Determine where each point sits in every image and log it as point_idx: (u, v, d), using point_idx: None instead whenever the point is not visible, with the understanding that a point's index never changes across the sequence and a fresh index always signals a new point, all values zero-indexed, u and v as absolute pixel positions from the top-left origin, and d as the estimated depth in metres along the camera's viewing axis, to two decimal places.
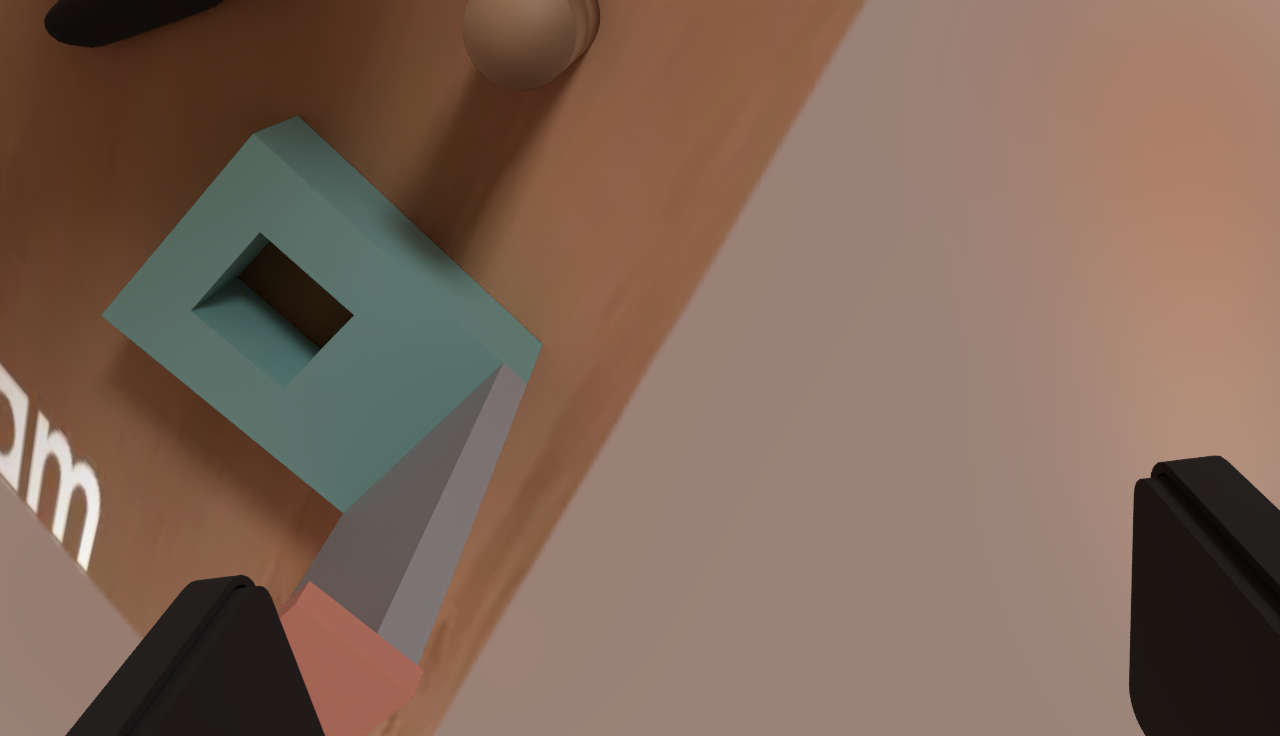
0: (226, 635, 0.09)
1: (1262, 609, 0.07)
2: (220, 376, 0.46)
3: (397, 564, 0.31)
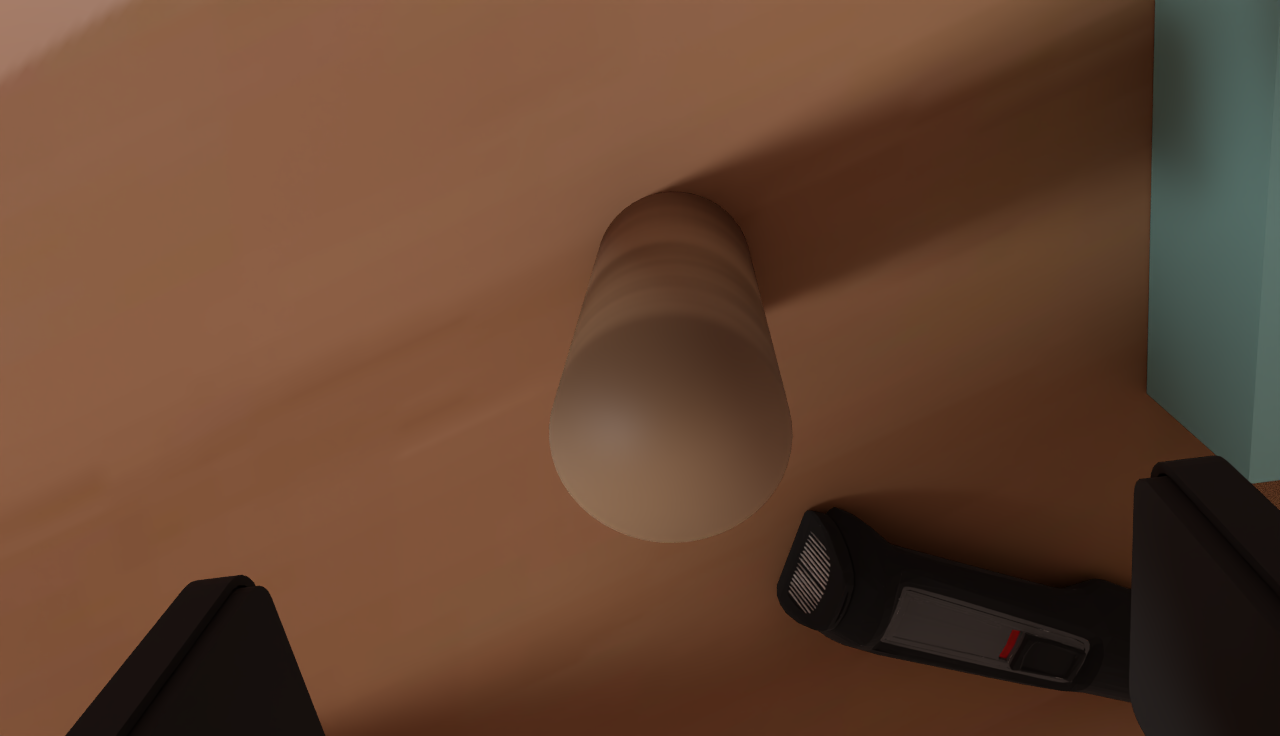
0: (226, 635, 0.09)
1: (1262, 609, 0.07)
2: None
3: None
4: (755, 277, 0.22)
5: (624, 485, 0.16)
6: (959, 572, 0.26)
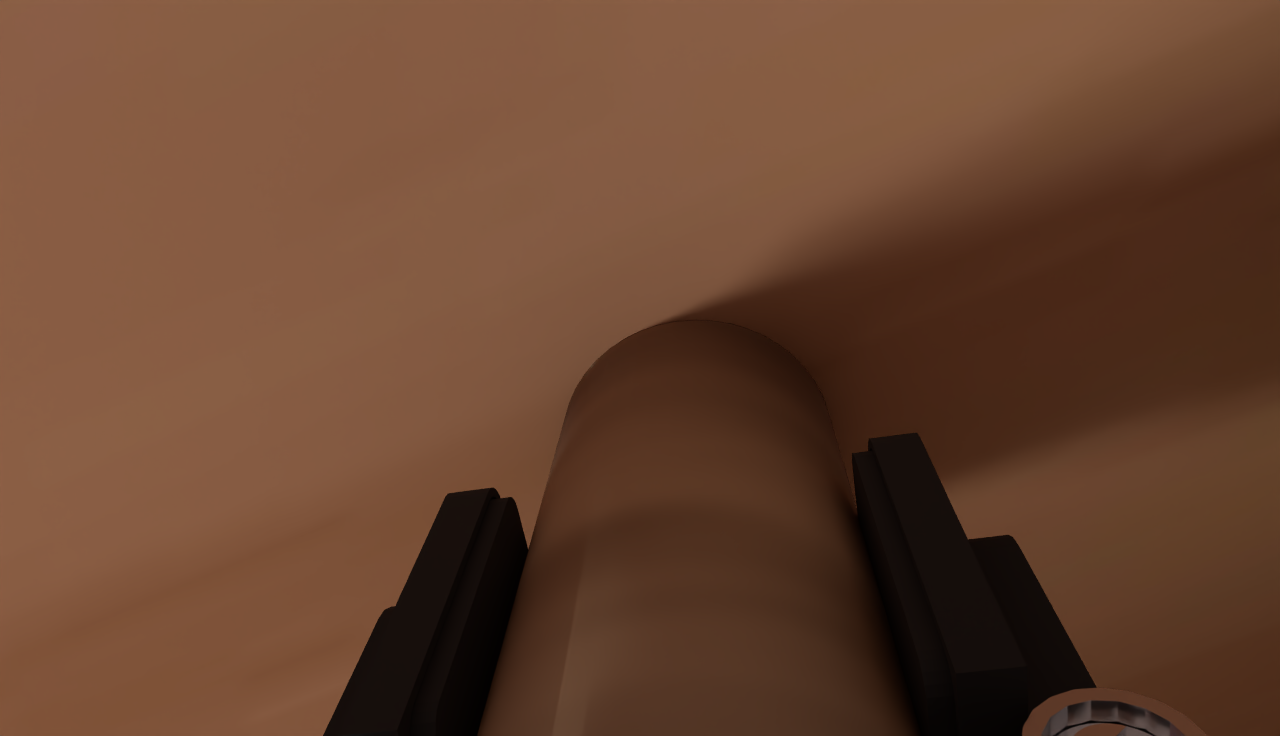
0: (498, 536, 0.10)
1: (893, 557, 0.09)
2: None
3: None
4: None
5: None
6: None
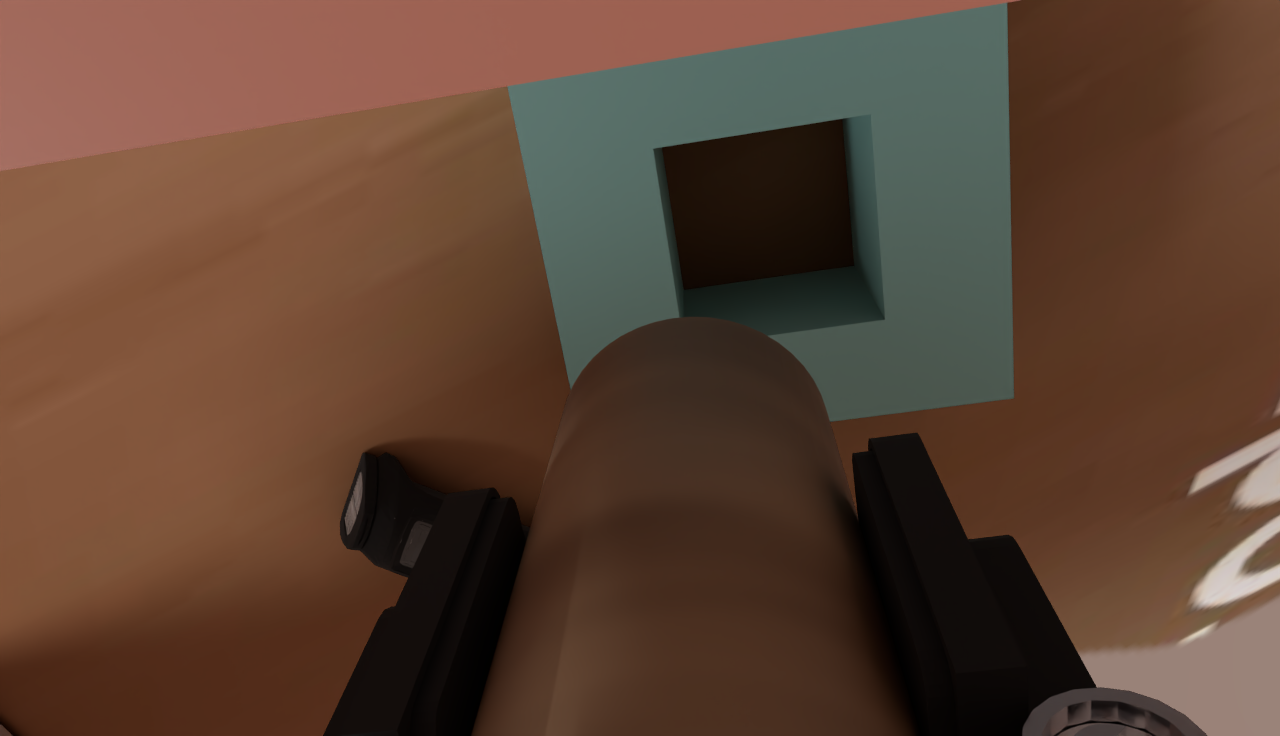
0: (498, 536, 0.10)
1: (893, 557, 0.09)
2: (946, 202, 0.24)
3: None
4: (856, 513, 0.11)
5: None
6: None
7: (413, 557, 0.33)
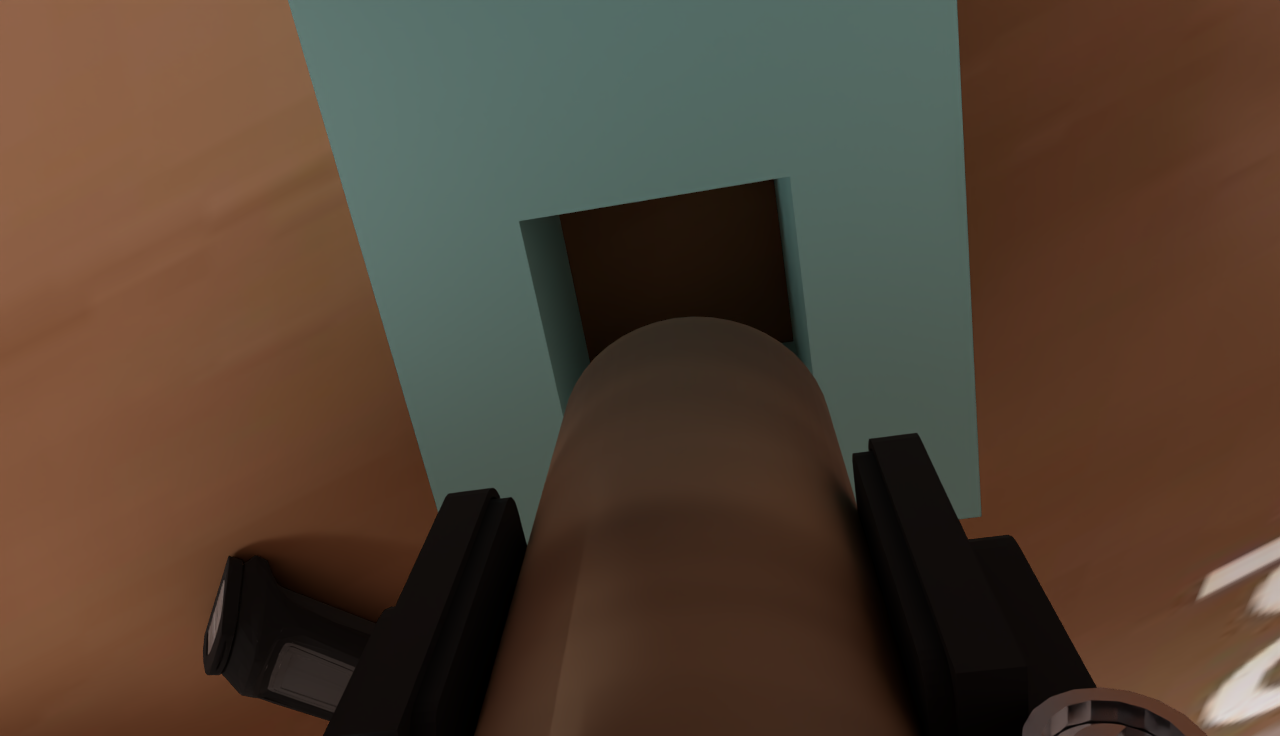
0: (498, 536, 0.10)
1: (893, 557, 0.09)
2: (889, 283, 0.19)
3: None
4: None
5: None
6: (347, 634, 0.27)
7: (283, 683, 0.28)
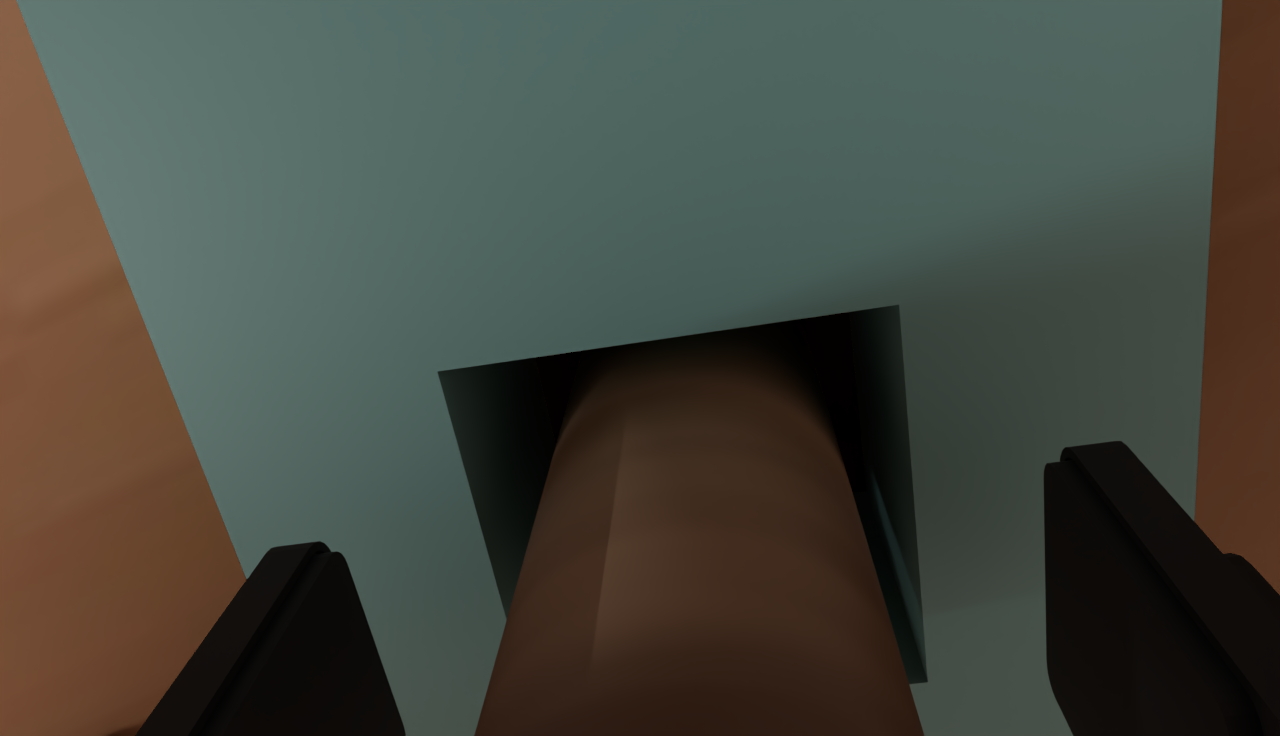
0: (311, 596, 0.10)
1: (1139, 580, 0.08)
2: None
3: None
4: (829, 416, 0.14)
5: None
6: None
7: None
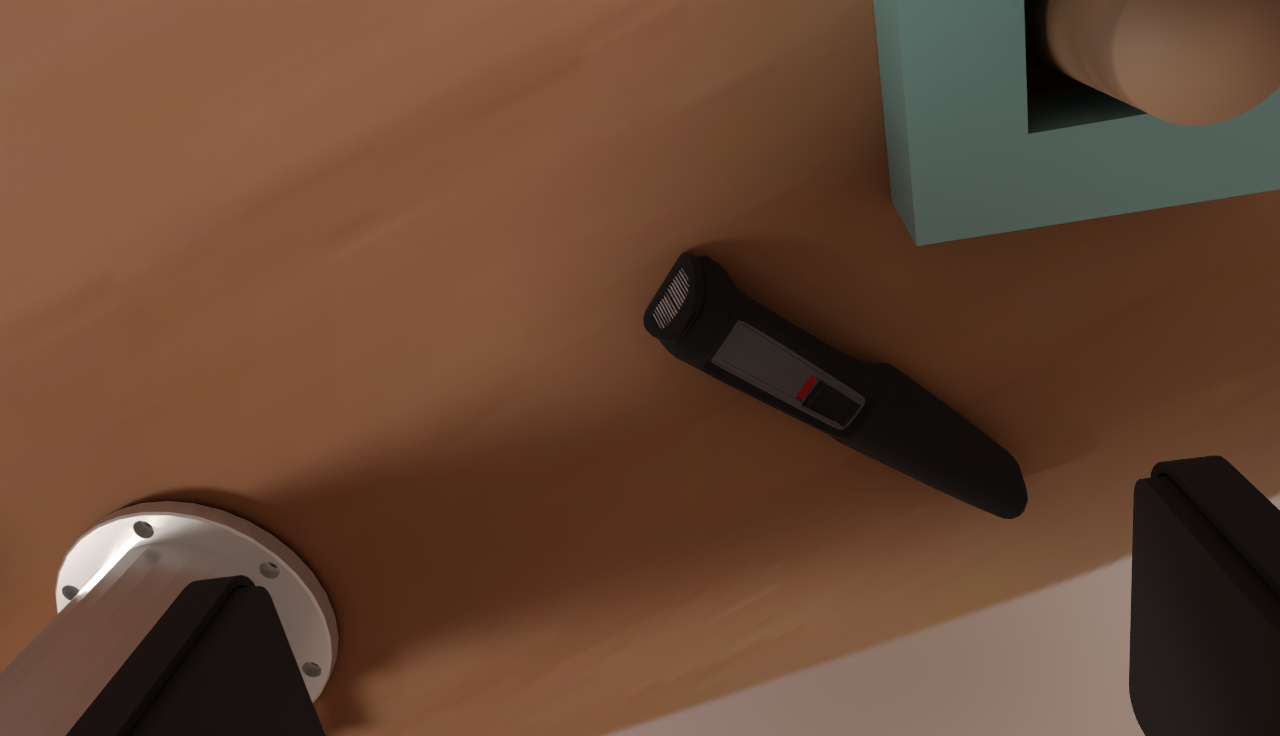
0: (226, 635, 0.09)
1: (1263, 609, 0.07)
2: None
3: None
4: None
5: (1170, 75, 0.22)
6: (783, 322, 0.34)
7: (725, 356, 0.34)
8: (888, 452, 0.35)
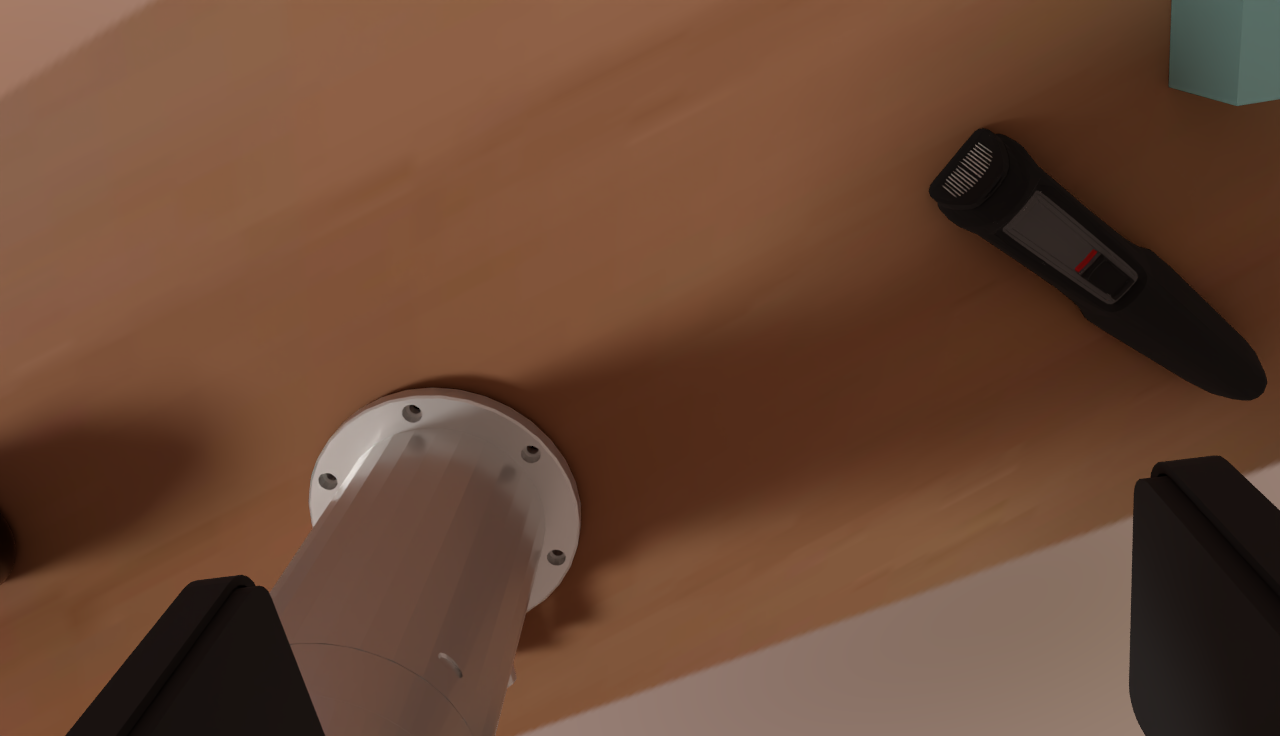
0: (226, 635, 0.09)
1: (1262, 609, 0.07)
2: None
3: None
4: None
5: None
6: (1073, 197, 0.37)
7: (1017, 225, 0.37)
8: (1151, 328, 0.38)
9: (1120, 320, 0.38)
